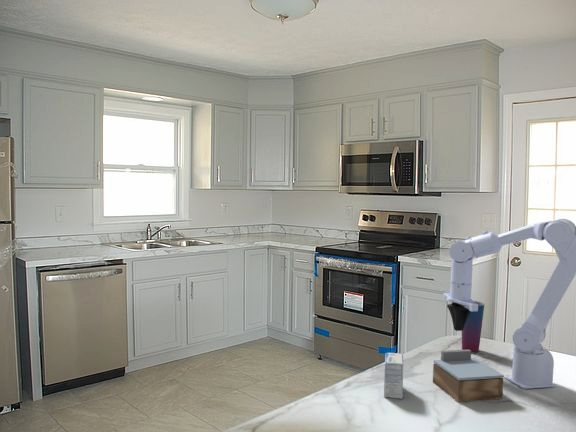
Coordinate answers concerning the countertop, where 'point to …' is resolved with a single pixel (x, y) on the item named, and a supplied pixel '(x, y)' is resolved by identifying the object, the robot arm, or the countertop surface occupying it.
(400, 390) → the medicine box
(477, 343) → the cup
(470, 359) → the lid
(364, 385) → the countertop surface
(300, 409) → the countertop surface
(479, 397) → the walnut box
